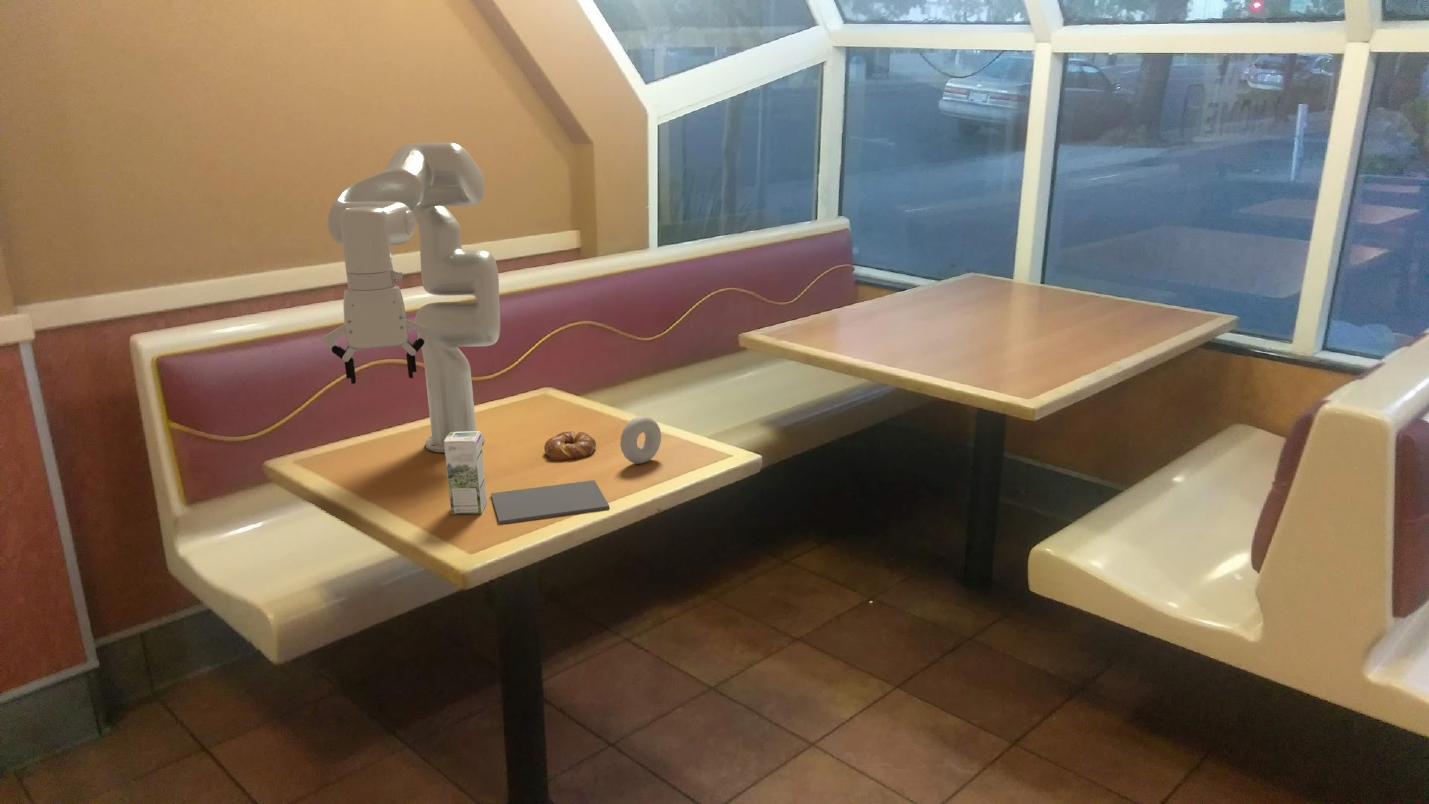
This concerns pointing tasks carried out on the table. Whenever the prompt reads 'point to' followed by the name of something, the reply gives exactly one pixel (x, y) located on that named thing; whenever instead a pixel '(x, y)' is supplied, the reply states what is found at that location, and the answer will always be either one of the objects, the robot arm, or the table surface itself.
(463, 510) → the syrup box
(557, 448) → the pretzel
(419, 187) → the robot arm
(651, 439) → the donut
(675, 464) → the table surface
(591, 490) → the mat
